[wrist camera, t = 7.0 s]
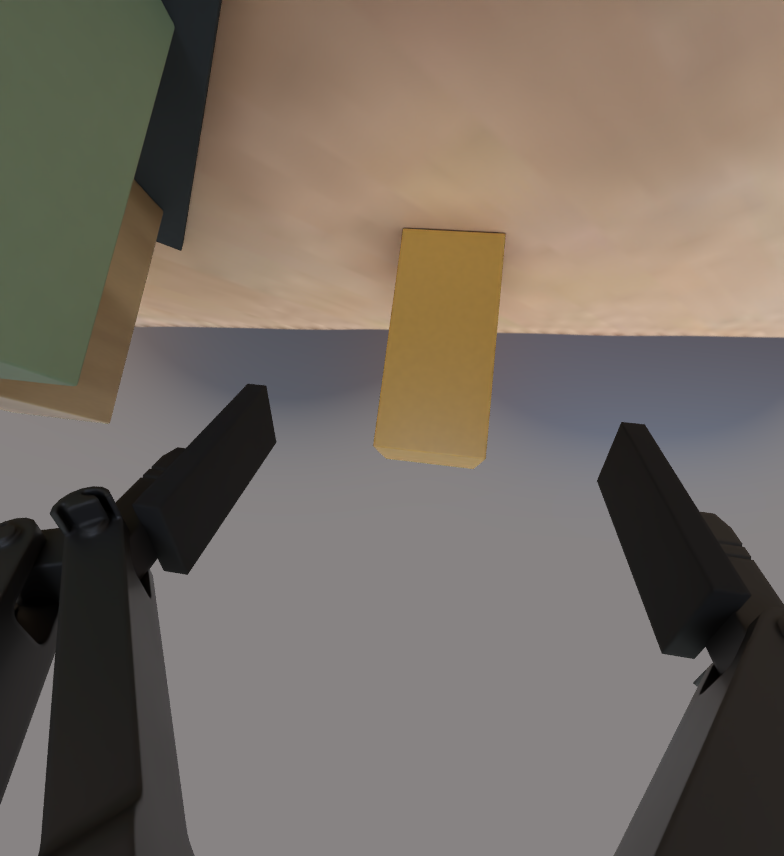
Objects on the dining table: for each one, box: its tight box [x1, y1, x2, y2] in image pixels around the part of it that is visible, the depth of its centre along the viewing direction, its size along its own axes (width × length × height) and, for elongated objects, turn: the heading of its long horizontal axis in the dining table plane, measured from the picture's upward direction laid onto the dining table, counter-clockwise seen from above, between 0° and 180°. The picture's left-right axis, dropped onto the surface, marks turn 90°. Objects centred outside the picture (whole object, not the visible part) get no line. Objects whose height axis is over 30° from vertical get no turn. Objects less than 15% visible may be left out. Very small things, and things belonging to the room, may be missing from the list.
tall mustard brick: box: [373, 229, 505, 469], centre depth 21 cm, size 5×5×11 cm
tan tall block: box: [0, 180, 163, 424], centre depth 17 cm, size 5×5×11 cm
